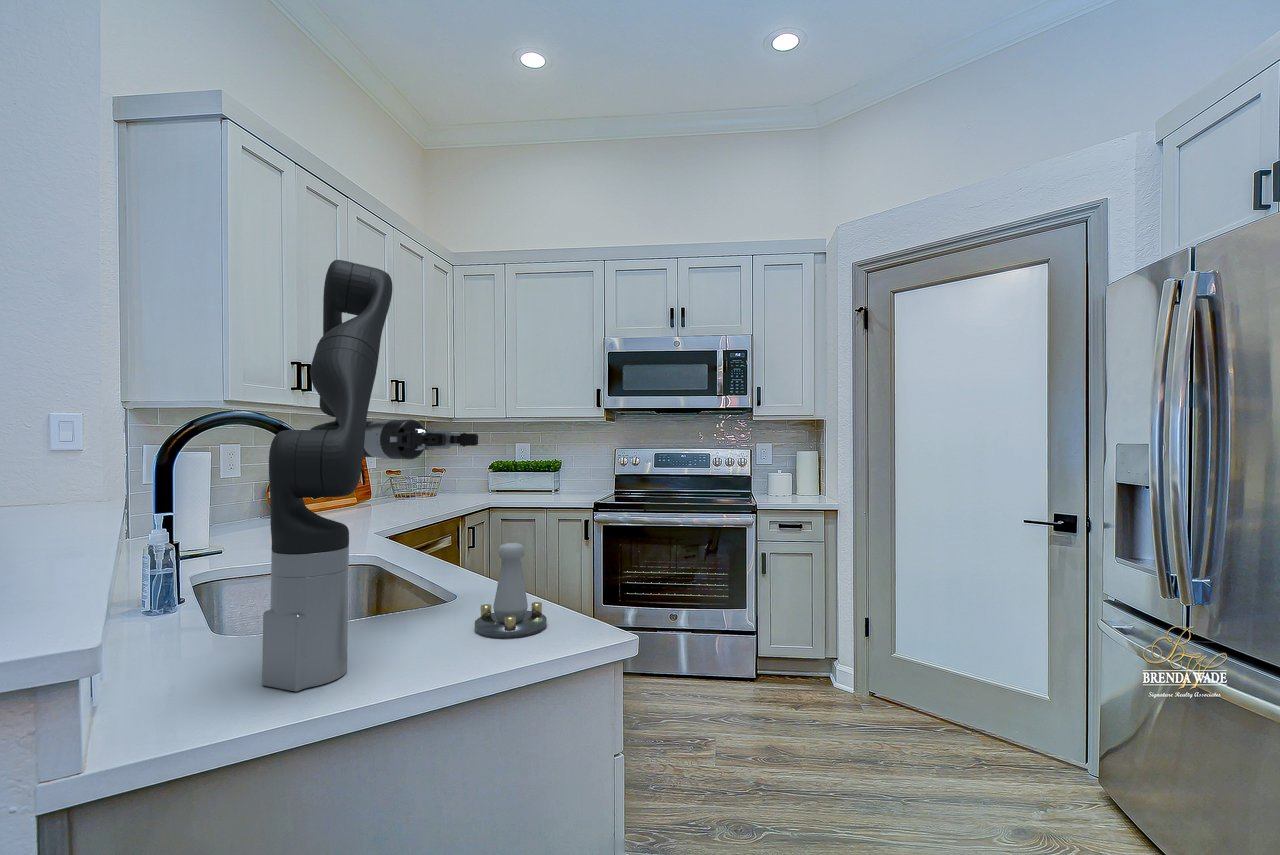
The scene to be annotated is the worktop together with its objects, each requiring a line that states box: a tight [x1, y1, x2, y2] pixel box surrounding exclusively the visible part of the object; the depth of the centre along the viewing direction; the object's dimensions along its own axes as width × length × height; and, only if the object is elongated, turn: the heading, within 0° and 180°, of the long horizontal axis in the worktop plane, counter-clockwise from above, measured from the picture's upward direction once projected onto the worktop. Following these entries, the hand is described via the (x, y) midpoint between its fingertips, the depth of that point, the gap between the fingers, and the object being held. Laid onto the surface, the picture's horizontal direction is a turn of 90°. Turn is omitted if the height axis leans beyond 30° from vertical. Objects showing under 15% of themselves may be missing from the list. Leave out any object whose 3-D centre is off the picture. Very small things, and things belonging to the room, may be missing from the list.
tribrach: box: [474, 601, 548, 640], centre depth 103 cm, size 12×12×3 cm
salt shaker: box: [493, 542, 529, 623], centre depth 103 cm, size 6×6×13 cm
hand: (461, 439), depth 108 cm, fingers open, 8 cm apart
